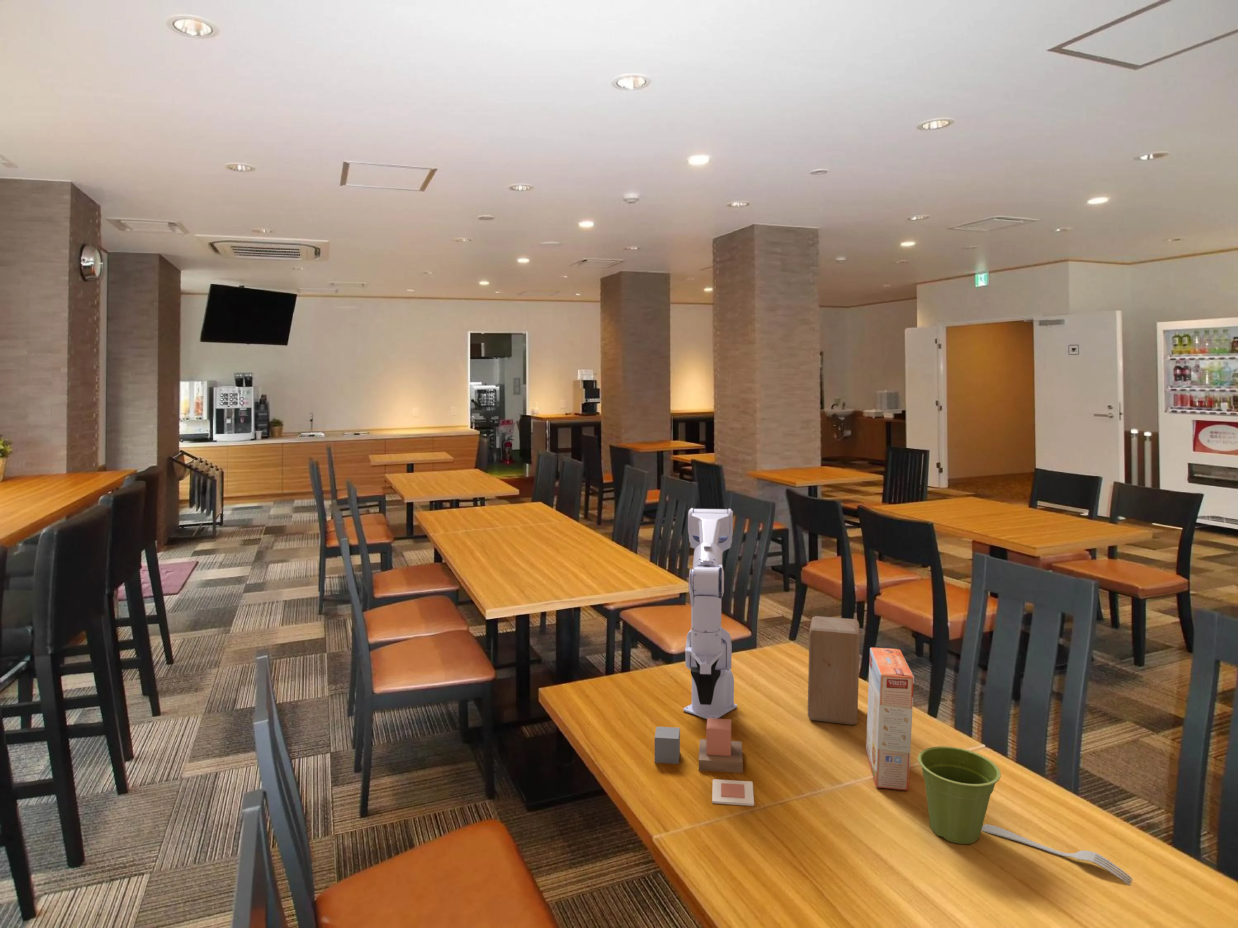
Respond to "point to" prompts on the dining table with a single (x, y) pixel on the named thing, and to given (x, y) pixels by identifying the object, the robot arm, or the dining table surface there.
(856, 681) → the wooden block
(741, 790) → the card
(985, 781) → the plant pot
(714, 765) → the walnut base block
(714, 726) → the brick red block
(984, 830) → the fork
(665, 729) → the charcoal block
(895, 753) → the cracker box
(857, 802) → the dining table surface
